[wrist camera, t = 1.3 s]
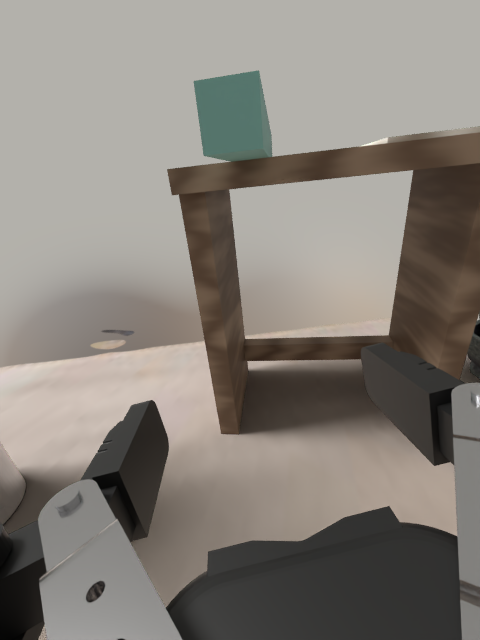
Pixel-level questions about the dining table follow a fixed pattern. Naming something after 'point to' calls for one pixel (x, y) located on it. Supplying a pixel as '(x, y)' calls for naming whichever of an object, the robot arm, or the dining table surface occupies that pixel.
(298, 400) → the dining table surface
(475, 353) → the mortar and pestle
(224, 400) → the stand
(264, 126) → the teal square bar
